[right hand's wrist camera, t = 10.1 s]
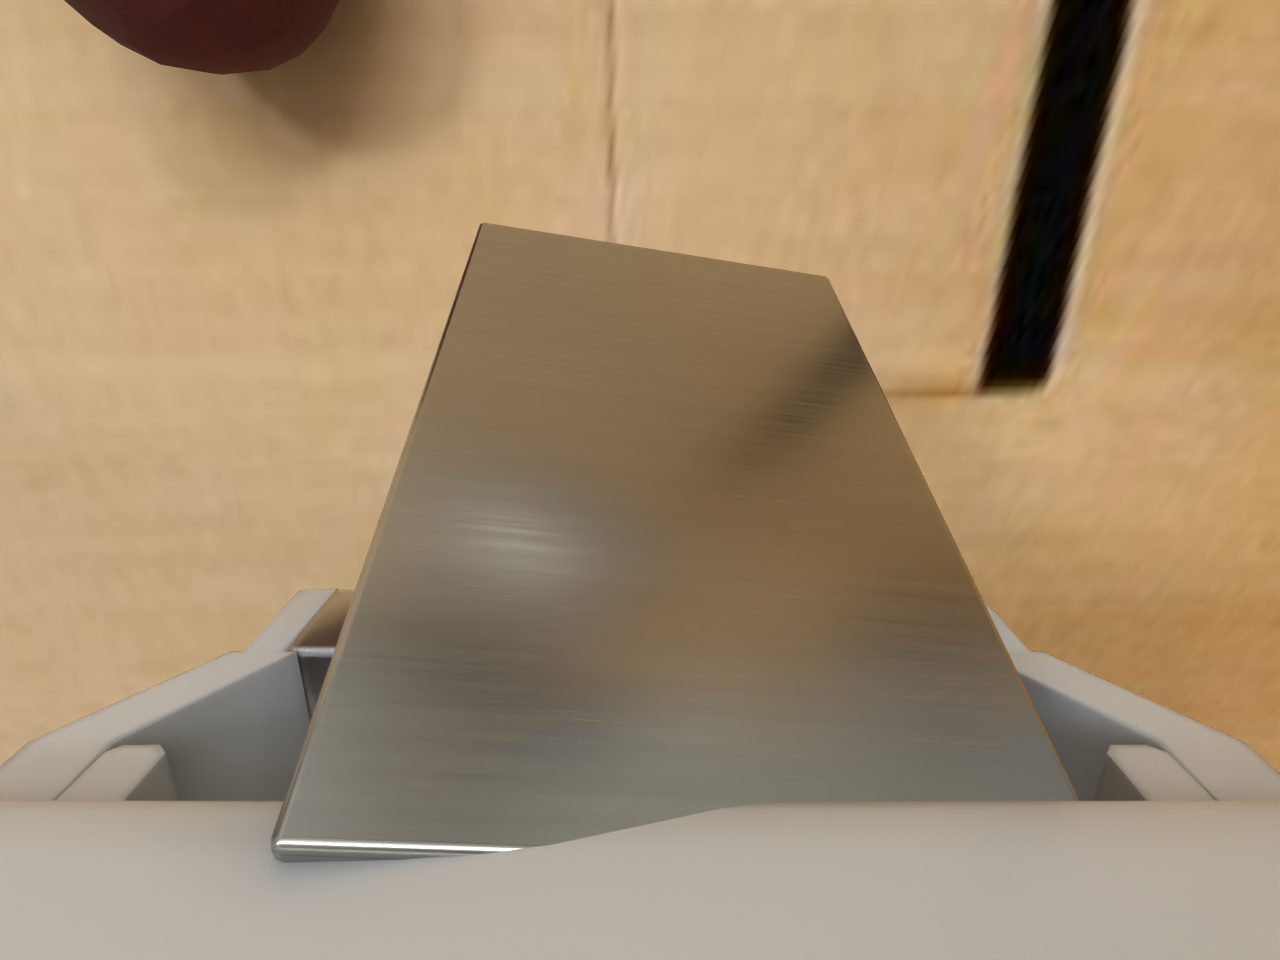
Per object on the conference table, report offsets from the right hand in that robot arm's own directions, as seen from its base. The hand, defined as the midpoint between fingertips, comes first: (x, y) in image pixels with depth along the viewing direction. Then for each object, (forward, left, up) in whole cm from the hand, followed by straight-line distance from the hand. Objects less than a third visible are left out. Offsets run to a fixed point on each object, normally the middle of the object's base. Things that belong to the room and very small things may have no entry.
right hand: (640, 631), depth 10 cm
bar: (+5, +6, -8) cm, 11 cm away
